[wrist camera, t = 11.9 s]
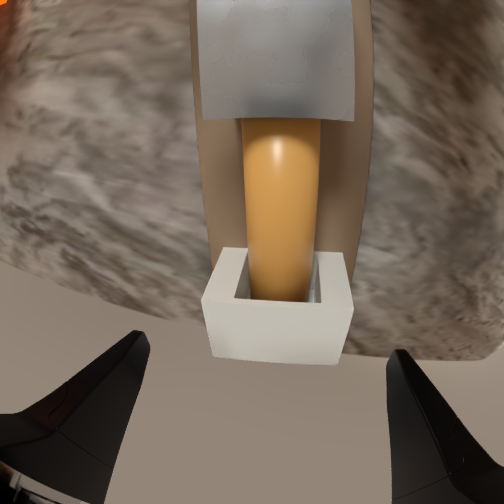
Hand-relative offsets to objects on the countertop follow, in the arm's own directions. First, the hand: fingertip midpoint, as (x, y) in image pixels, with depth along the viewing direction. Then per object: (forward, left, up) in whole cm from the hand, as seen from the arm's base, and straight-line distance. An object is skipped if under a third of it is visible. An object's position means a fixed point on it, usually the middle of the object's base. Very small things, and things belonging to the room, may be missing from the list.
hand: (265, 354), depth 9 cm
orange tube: (0, -2, -9) cm, 9 cm away
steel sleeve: (0, -11, -11) cm, 16 cm away
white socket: (0, +5, -11) cm, 12 cm away
